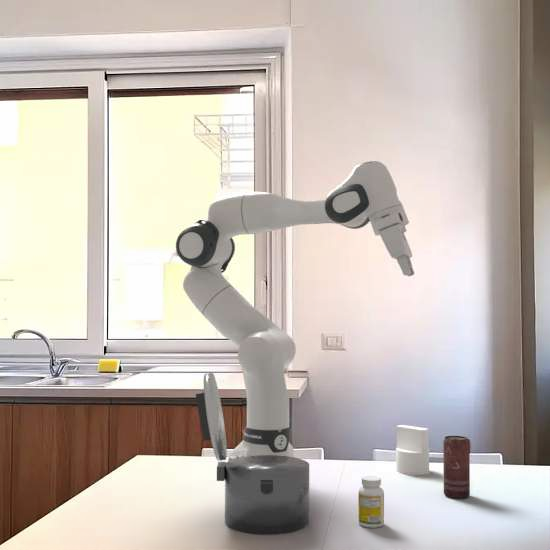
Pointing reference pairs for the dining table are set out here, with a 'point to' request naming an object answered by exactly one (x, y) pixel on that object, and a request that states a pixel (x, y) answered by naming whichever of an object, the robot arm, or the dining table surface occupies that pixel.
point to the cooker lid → (212, 416)
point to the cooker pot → (265, 493)
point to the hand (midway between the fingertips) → (409, 275)
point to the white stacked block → (412, 450)
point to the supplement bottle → (371, 502)
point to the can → (456, 467)
